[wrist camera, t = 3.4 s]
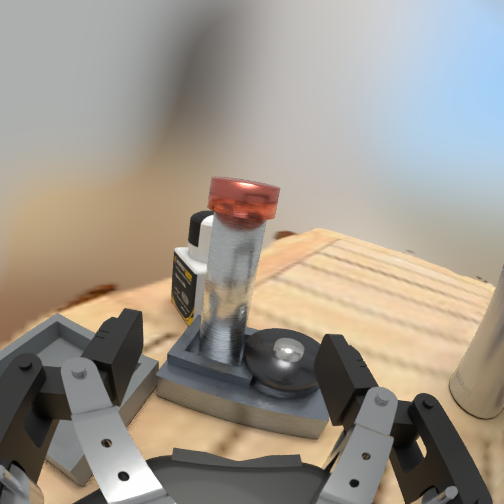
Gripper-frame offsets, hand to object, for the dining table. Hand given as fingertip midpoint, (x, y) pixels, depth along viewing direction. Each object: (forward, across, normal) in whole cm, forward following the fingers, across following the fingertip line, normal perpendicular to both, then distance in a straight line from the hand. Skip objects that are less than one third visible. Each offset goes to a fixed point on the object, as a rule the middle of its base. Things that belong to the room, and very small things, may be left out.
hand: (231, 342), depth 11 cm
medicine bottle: (+20, +2, +11) cm, 23 cm away
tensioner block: (+8, -3, +10) cm, 14 cm away
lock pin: (+9, 0, +8) cm, 12 cm away
